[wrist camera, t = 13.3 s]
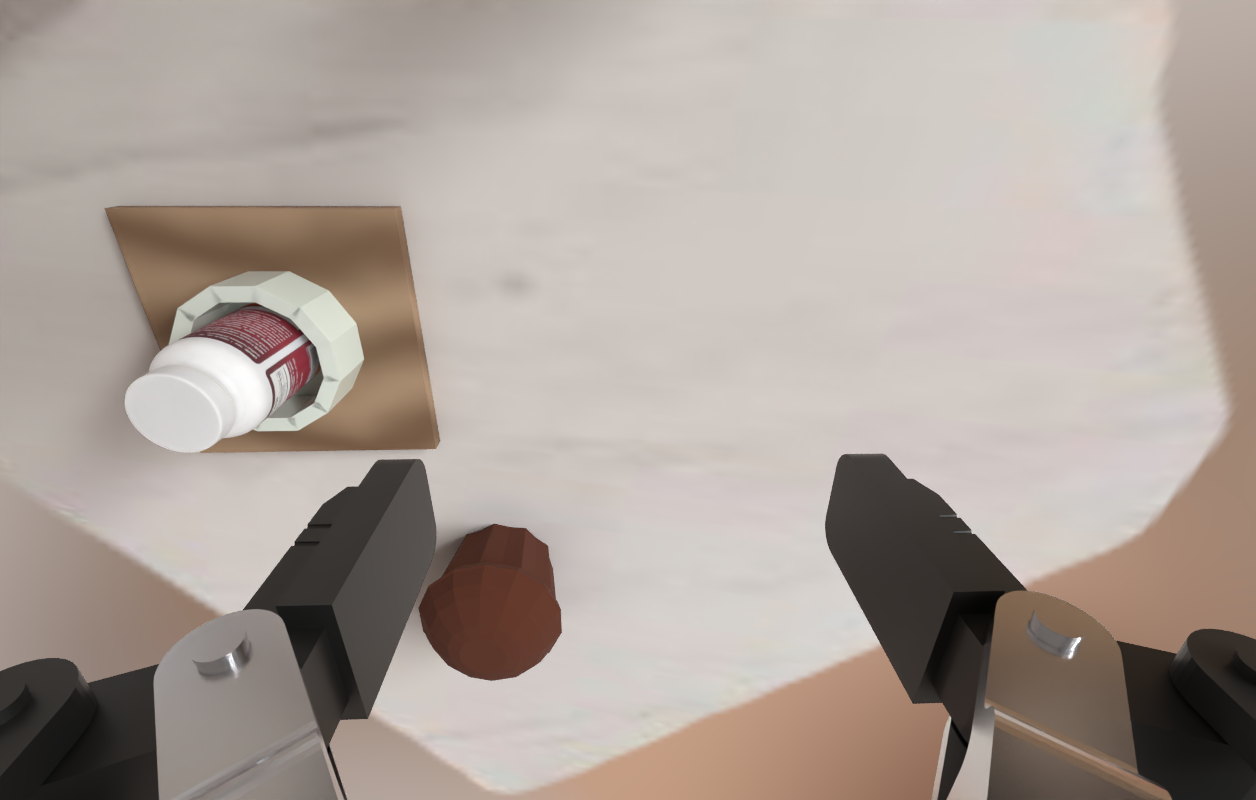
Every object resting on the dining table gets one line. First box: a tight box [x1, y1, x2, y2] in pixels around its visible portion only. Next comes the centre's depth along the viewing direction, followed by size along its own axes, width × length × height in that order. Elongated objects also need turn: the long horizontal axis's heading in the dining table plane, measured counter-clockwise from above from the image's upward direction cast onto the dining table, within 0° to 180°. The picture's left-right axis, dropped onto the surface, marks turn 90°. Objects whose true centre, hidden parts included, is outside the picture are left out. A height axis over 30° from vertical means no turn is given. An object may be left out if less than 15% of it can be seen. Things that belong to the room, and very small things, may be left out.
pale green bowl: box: [169, 271, 364, 431], centre depth 37 cm, size 10×10×4 cm
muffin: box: [419, 524, 562, 681], centre depth 45 cm, size 12×11×10 cm
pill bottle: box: [124, 302, 321, 453], centre depth 33 cm, size 6×6×11 cm
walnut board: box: [105, 206, 440, 453], centre depth 39 cm, size 18×18×1 cm
